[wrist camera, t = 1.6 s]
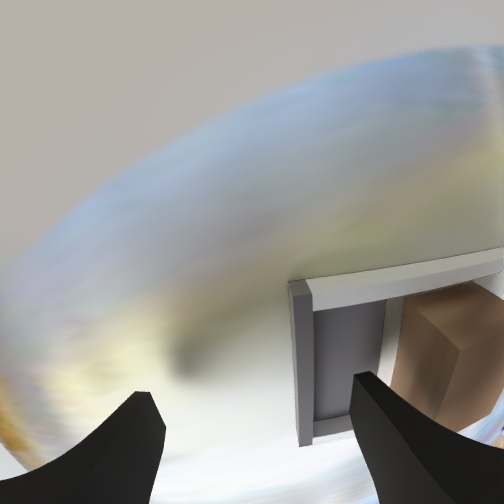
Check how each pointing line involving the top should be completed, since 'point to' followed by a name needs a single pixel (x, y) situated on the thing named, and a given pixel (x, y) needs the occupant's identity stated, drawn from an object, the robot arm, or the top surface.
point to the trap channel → (355, 332)
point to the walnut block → (451, 354)
